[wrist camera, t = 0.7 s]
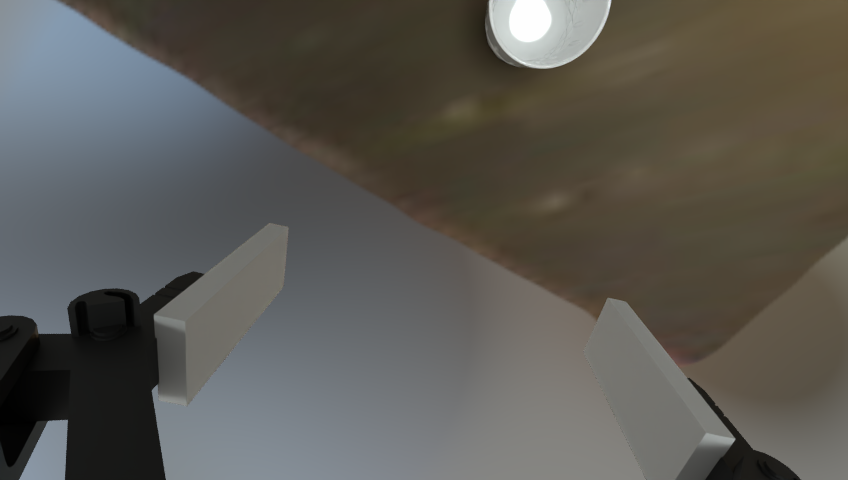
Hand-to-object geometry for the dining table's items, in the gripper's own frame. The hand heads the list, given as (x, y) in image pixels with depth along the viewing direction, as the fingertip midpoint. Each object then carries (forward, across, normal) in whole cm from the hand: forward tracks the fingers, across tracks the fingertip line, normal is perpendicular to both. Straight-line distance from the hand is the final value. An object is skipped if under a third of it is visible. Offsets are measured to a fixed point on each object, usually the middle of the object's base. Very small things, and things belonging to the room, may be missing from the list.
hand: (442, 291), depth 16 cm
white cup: (+26, +4, +14) cm, 30 cm away
